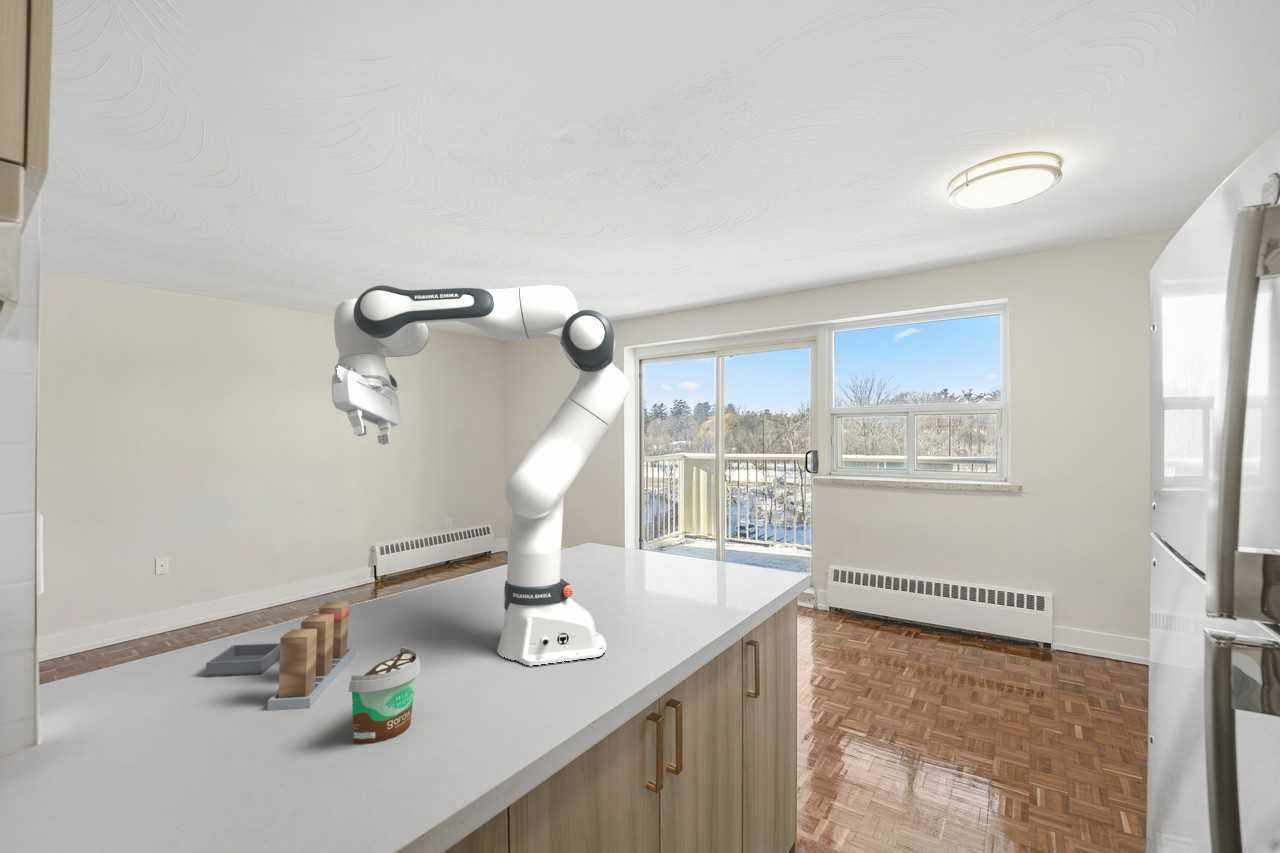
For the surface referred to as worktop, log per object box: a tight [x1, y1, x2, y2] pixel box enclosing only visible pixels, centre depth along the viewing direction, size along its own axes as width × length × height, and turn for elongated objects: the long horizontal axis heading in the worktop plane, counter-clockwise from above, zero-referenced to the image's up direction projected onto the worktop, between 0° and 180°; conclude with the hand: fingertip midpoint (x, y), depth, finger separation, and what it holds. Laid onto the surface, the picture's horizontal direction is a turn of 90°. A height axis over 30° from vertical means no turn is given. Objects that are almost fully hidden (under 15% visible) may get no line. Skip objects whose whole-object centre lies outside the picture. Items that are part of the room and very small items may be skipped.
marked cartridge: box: [317, 601, 350, 659], centre depth 109 cm, size 4×4×11 cm
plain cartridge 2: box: [300, 614, 334, 677], centre depth 101 cm, size 4×4×11 cm
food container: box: [348, 646, 422, 745], centre depth 84 cm, size 12×6×10 cm, turn 168°
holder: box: [266, 647, 356, 711], centre depth 101 cm, size 6×22×2 cm, turn 10°
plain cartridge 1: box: [278, 628, 317, 698], centre depth 93 cm, size 4×4×11 cm
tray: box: [205, 642, 280, 678], centre depth 106 cm, size 9×9×2 cm
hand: (372, 439), depth 113 cm, fingers open, 8 cm apart
